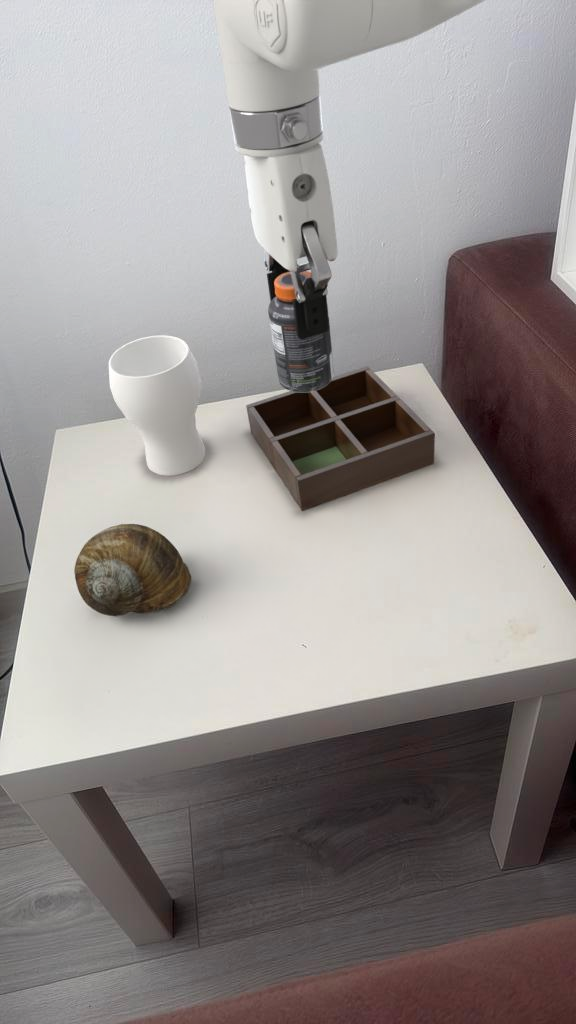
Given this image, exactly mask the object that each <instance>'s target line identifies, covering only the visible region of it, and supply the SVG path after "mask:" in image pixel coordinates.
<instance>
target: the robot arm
mask: <svg viewBox="0 0 576 1024" xmlns="http://www.w3.org/2000/svg"><path fill="white" fill-rule="evenodd" d="M484 1H485V0H212V3H213V11H214V18H215V23H216V30H217V36H218V43H219V48H220V49H219V50H220V55H221V62H222V68H223V74H224V81H225V88H226V94H227V101H228V109H229V115H230V122H231V128H232V133H233V134H232V135H233V141H234V148H235V151H236V152H237V153H238V154H240V155H243V157H244V170H245V180H246V188H247V189H246V190H247V199H248V207H249V212H250V219H251V225H252V229H253V233H254V237H255V239H256V241H257V243H258V244H259V246H260V247H261V248H262V249H263V251H264V252H263V253H264V259H263V261H264V268H265V270H266V272H267V273H266V279H267V286H268V295H269V300H270V302H271V301H272V299H273V298H274V297H276V294H275V285H274V281H275V279H276V278H277V277H278V276H280V275H281V274H284V273H287V272H290V274H291V278H292V282H293V286H294V290H295V295H296V298H297V299H293V308H294V316H295V324H296V333H297V336H298V337H299V338H300V339H305V338H309V337H312V336H315V335H318V334H321V333H325V332H327V331H328V330H329V323H330V319H329V320H328V314H329V307H328V308H327V304H328V299H327V295H328V294H329V292H328V286H329V285H328V284H329V282H330V281H331V279H332V269H331V268H330V267H331V266H330V265H329V262H335V261H336V259H337V258H338V253H339V252H338V241H337V232H336V223H335V214H334V206H333V199H332V192H331V185H330V179H329V173H328V169H327V164H326V160H325V155H324V151H323V148H322V147H323V146H322V145H321V142H322V141H323V140H324V128H323V116H322V115H323V114H322V103H321V93H320V92H321V91H320V77H319V76H320V75H319V71H320V70H321V69H326V68H327V67H331V66H334V65H338V64H340V63H343V62H346V61H349V60H350V59H352V58H356V57H358V56H359V57H360V56H361V55H366V54H368V53H372V52H375V51H378V50H381V49H385V48H388V47H391V46H394V45H398V44H401V43H403V42H406V41H408V40H410V39H413V38H416V37H417V36H420V35H422V34H424V33H425V32H428V31H430V30H431V29H434V28H435V27H437V26H439V25H442V24H443V23H445V22H447V21H449V20H451V19H452V18H455V17H456V16H459V15H461V14H462V13H464V12H466V11H467V10H470V9H472V8H474V7H475V6H477V5H480V4H481V3H483V2H484ZM305 257H306V259H307V261H308V262H305V263H301V264H298V259H301V258H305ZM304 271H310V273H311V275H310V276H311V277H310V278H307V279H306V281H305V282H304V284H302V279H301V275H300V272H304Z"/></svg>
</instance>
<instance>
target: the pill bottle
mask: <svg viewBox="0 0 576 1024" xmlns="http://www.w3.org/2000/svg"><path fill="white" fill-rule="evenodd" d="M300 275H301V279H302V284H304V282H305V281H306V279H307V278H310V277H311V276H310V275H311V271H309V270H307V271H304V272H300ZM274 285H275V294H276V297H274V298H273V299H272V301H270V302H269V304H268V308H267V312H268V319H269V326H270V332H271V341H272V347H273V352H274V359H275V365H276V372H277V378H278V383H279V385H280V386H281V387H282V388H283V389H284V390H287V391H288V392H289V391H293V392H299V393H306V392H312V391H316V390H319V389H321V388H323V387H325V386H327V385H328V384H329V383H330V382H331V381H332V379H333V377H335V370H334V369H335V368H334V358H333V348H332V337H331V324H330V323H331V322H329V330H328V331H327V332H325V333H321V334H318V335H315V336H312V337H309V338H305V339H300V338H299V337H298V336H297V333H296V324H295V316H294V308H293V299H297V298H296V295H295V290H294V286H293V282H292V278H291V274H290V272H287V273H284V274H281V275H280V276H278V277H277V278H276V279H275V281H274ZM327 308H328V309H329V305H328V303H327ZM328 320H329V321H330V316H329V313H328Z"/></svg>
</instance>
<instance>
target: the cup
mask: <svg viewBox="0 0 576 1024" xmlns="http://www.w3.org/2000/svg"><path fill="white" fill-rule="evenodd" d="M108 377H109V378H108V379H109V380H108V382H109V388H110V391H111V394H112V397H113V400H114V402H115V404H116V406H117V407H118V408H119V410H120V411H121V413H122V414H123V415H124V417H125V419H126V420H127V421H129V423H131V424H132V425H133V426H134V427H135V428H136V429H137V430H138V432H139V434H140V436H141V438H142V441H143V443H144V452H145V460H146V466H147V467H148V469H149V470H150V471H151V472H152V473H154V474H157V475H159V476H169V477H170V476H179V475H183V474H185V473H188V472H190V471H192V470H193V469H196V468H197V467H199V465H201V464H202V462H203V461H204V459H205V458H206V453H207V452H206V447H205V445H204V442H203V439H202V437H201V435H200V433H199V430H198V429H197V423H196V421H197V420H196V413H197V410H198V407H199V403H200V400H201V390H202V380H201V379H202V378H201V375H200V371H199V365H198V362H197V360H196V358H195V356H194V354H193V352H192V350H191V348H190V346H189V345H188V344H187V343H186V341H185V340H183V339H181V338H180V337H178V336H177V337H176V336H172V335H163V334H162V335H161V334H160V335H149V336H145V337H140V338H137V339H135V340H132V341H130V342H129V341H128V342H127V343H126V344H124V345H123V344H122V346H120V347H119V348H117V349H116V350H114V352H113V353H112V354H111V356H110V358H109V360H108Z"/></svg>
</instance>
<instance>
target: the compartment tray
mask: <svg viewBox="0 0 576 1024" xmlns="http://www.w3.org/2000/svg"><path fill="white" fill-rule="evenodd" d="M245 408H246V414H247V418H248V424H249V429H250V430H249V431H250V434H251V436H252V438H253V439H254V440H255V442H256V444H257V445H258V447H259V448H260V450H261V451H262V453H263V454H264V456H265V457H266V459H267V460H268V462H269V464H270V465H271V467H272V468H273V469H274V471H275V472H276V474H277V476H278V477H279V479H280V480H281V482H282V483H283V485H284V486H285V488H286V489H287V491H288V492H289V494H290V495H291V497H292V498H293V500H294V502H295V503H296V505H297V506H298V508H299V509H300V511H301V512H305V511H307V510H311V509H313V508H316V507H318V506H321V505H324V504H326V503H330V502H332V501H335V500H337V499H340V498H343V497H346V496H349V495H351V494H354V493H357V492H360V491H362V490H365V489H368V488H371V487H374V486H376V485H379V484H382V483H385V482H388V481H390V480H393V479H396V478H398V477H401V476H404V475H407V474H409V473H412V472H416V471H418V470H420V469H421V470H422V469H424V468H427V467H429V466H432V465H435V444H436V443H435V441H436V433H435V431H433V430H432V428H431V427H429V425H428V424H426V423H425V422H424V420H423V419H421V418H420V416H418V414H416V413H415V411H413V410H412V408H411V407H409V406H408V405H407V404H406V402H404V400H402V399H401V398H400V396H399V395H397V393H395V392H394V391H393V390H392V389H391V388H390V387H389V386H388V384H386V383H385V382H384V381H383V380H382V378H380V377H379V376H378V375H377V374H376V373H375V371H373V370H372V368H371V367H369V365H366V366H364V367H360V368H357V369H354V370H351V371H348V372H345V373H341V374H339V375H334V377H333V379H332V381H331V382H330V383H329V384H328V385H327V386H325V387H323V388H321V389H319V390H316V391H312V392H306V393H299V392H293V391H289V390H288V391H285V392H282V393H280V394H276V395H274V396H273V395H272V396H270V397H267V398H265V399H264V398H263V399H261V400H258V401H254V402H251V403H248V404H246V405H245Z"/></svg>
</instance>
